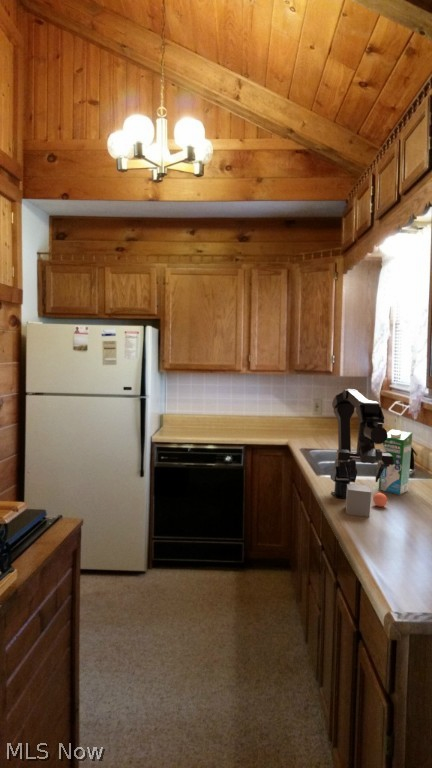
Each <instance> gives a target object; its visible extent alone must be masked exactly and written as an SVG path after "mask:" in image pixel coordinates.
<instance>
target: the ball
mask: <svg viewBox="0 0 432 768" xmlns="http://www.w3.org/2000/svg"><path fill="white" fill-rule="evenodd" d="M372 502H373V503H374V505H375V506H377V507H379V508H380V507H381V508H382V507H384V506H386V505H387V503H388V498H387V496H386V495H385V494H384V493H382V492H377V493H375V494H374V495H373V496H372Z"/></svg>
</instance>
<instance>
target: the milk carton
mask: <svg viewBox="0 0 432 768" xmlns="http://www.w3.org/2000/svg"><path fill="white" fill-rule="evenodd" d="M387 434H388V437H387V439H386V441H385V442H384V443H382V444H381V449H382V453H390V454H391V455H392V456H393V457H394V465H390V466H389V467H386V468H385V469H384V470H383V471H382V473H381V475H380V477H379V479H378V488H377V489H378V491H382V490H383V491H382V492H386V491H387V493H391V494H394V495H398V496H401V495H402V494H404V493H406V492H408V491H409V481H410V480H409V479H410V468H411V467H410V466H411V457H412V456H411V454H412V444H413V443H412V442H413V432H411V431H410V432H409V431H406V430H405V431H403V430H398V429H390V430H389V431H387Z"/></svg>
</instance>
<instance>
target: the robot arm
mask: <svg viewBox="0 0 432 768" xmlns="http://www.w3.org/2000/svg"><path fill="white" fill-rule="evenodd" d="M331 406H332V408H333V414H334V416H335V417H336V418H337V438H338V440H337V441H338V442H337V443H338V445H337V446H338V449H337V450H336V459H335V461H334V465H333V467H332V470H331V472H330V474H329V475H330V476H329V478H330V480H332V482H333V483H334V491H330V493H331V494H332V495H333V496H334V497H335V498H336V499H346V492H347V484H351V483H355V482H356V479H357V475H358V469H357V461H356V459H357V460H359V461H360V463H363V464H366V463H368V464H372V465H374V464H376V461H377V466H376V470H375V471H376V473H375V483H379V477H380V475H381V473H382V471H383V470H384V469H385V468H386V467H389V466H390V465H394V457H393V456H392V455H391V454H390V453H382V448H376V446H375V444H376V445H382V443H384V442H385V441H386V439H387V437H388V434H387V433H388V431H387V429H386V428H384V426H383V424H385V416H384V412H383V410H382V407H381V404H380V403H379V402H378V401H375V400H372V399H368V398H366V397H365V396H364V395H363V394H362V393H360V392H359V390H357V389H354V388H346V389H343V391H342V392H341V393H338V394H336V395H335V396H334V398H333V399H332V403H331ZM355 409H356V410H355ZM355 413H356V415H357V418H358V420H357V422H358V430H357V443H356V452H352V445H351V442H352V440H351V439H352V437H351V436H352V435H351V418H352V416H353V415H354V414H355Z"/></svg>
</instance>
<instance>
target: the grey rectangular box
mask: <svg viewBox="0 0 432 768" xmlns="http://www.w3.org/2000/svg"><path fill="white" fill-rule="evenodd" d="M371 498H372V490H371V488H370V485H364V484H363V485H362V484H353V483H352V484H351V483H350V484H347V492H346V498H345V513H346V515H349V516H350V515H351V516H358V517H368V518H369V517H370V513H371V500H372V499H371Z"/></svg>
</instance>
